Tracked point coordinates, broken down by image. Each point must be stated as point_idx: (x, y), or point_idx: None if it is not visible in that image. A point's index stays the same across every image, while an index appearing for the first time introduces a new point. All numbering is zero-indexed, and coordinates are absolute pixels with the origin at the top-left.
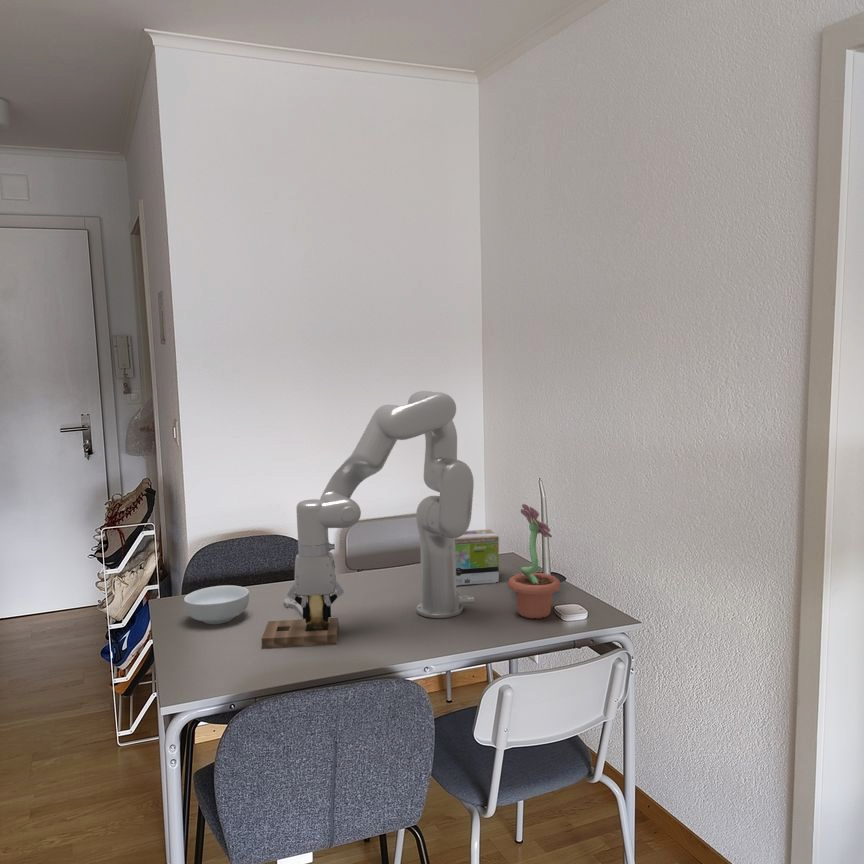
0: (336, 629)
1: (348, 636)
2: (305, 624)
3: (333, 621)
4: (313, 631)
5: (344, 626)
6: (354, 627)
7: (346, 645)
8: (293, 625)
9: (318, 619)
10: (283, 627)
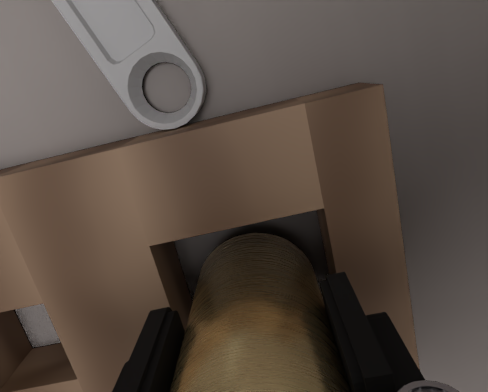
0: (413, 340)
1: (456, 251)
2: (146, 267)
3: (357, 187)
4: None
5: (401, 67)
6: (483, 82)
7: (460, 374)
8: (61, 290)
9: None
10: (2, 309)
